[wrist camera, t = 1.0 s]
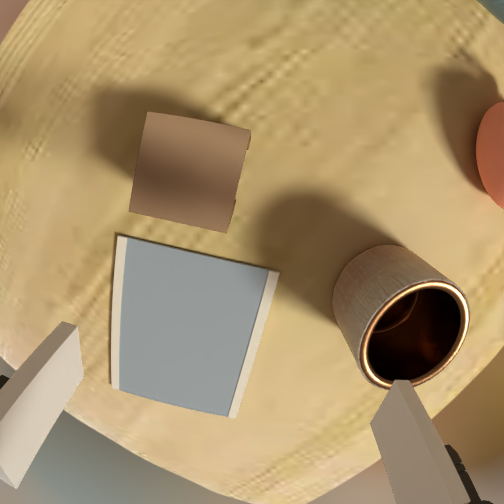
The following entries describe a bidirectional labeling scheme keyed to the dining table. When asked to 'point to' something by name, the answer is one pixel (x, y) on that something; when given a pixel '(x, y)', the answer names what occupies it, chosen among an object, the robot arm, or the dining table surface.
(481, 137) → the sugar bowl
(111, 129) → the dining table surface
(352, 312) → the planter
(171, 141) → the stool
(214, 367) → the rug
